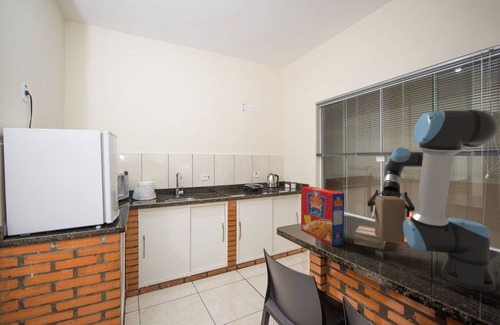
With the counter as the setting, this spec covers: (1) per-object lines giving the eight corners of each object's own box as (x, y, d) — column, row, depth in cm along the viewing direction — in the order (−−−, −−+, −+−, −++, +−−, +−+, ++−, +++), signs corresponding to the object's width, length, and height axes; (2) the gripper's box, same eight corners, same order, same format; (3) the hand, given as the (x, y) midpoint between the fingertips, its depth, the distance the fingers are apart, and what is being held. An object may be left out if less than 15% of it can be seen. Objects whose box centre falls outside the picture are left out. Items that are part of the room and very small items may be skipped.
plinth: (383, 249, 116) (383, 238, 116) (353, 243, 125) (354, 232, 124) (386, 240, 130) (386, 229, 129) (359, 235, 138) (359, 225, 137)
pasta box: (301, 230, 146) (301, 187, 146) (311, 228, 149) (311, 186, 149) (331, 246, 120) (332, 193, 120) (343, 244, 123) (344, 193, 123)
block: (405, 243, 104) (406, 199, 103) (381, 241, 106) (382, 198, 105) (395, 235, 114) (396, 196, 113) (374, 234, 116) (374, 195, 115)
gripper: (420, 191, 115) (420, 228, 103) (366, 187, 129) (361, 220, 117) (421, 181, 110) (421, 219, 98) (365, 179, 125) (359, 211, 112)
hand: (388, 219), depth 108 cm, fingers closed on block, 12 cm apart
